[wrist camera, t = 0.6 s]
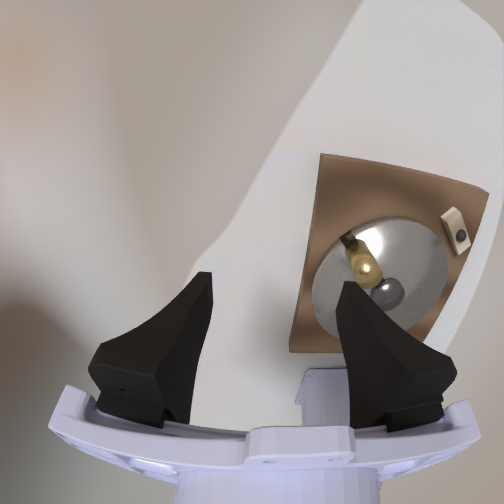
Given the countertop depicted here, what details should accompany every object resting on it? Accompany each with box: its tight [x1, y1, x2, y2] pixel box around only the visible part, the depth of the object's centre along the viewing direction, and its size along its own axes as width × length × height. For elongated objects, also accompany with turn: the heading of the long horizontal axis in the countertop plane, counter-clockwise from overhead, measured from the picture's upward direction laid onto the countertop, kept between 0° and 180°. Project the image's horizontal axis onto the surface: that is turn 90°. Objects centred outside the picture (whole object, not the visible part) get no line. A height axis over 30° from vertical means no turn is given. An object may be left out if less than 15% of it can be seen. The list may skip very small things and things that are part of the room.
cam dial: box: [311, 216, 448, 339], centre depth 20 cm, size 14×13×5 cm
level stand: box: [289, 153, 489, 353], centre depth 22 cm, size 20×16×3 cm
